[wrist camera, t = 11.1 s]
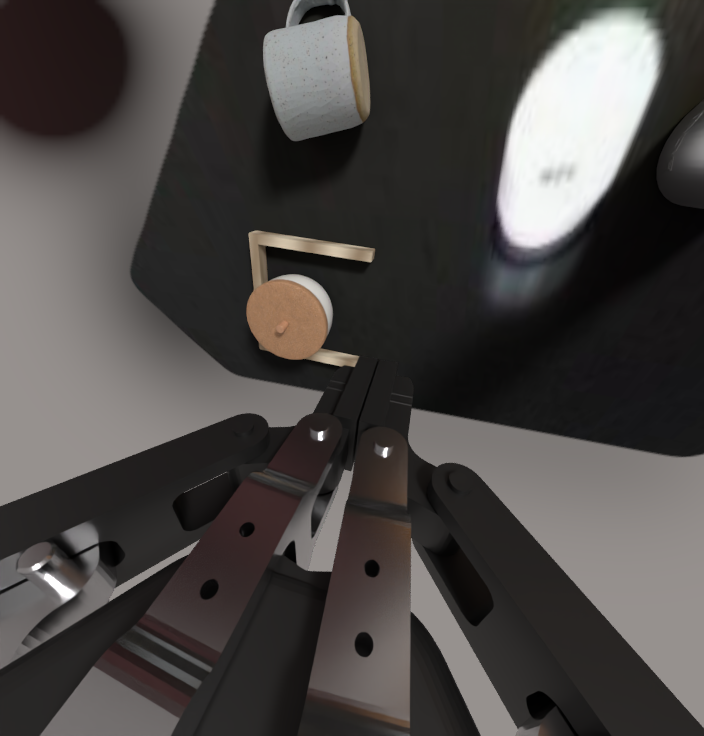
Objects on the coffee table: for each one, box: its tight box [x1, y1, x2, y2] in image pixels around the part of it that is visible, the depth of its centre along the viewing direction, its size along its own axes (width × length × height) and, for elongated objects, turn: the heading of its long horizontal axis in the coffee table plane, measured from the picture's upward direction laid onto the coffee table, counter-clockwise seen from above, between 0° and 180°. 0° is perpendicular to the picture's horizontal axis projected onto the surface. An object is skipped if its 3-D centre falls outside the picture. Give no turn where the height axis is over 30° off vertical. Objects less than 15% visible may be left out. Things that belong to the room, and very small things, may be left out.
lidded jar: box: [247, 274, 333, 360], centre depth 40 cm, size 11×11×9 cm
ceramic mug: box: [263, 0, 370, 141], centre depth 26 cm, size 11×8×8 cm
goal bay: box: [249, 231, 375, 367], centre depth 43 cm, size 16×17×2 cm
